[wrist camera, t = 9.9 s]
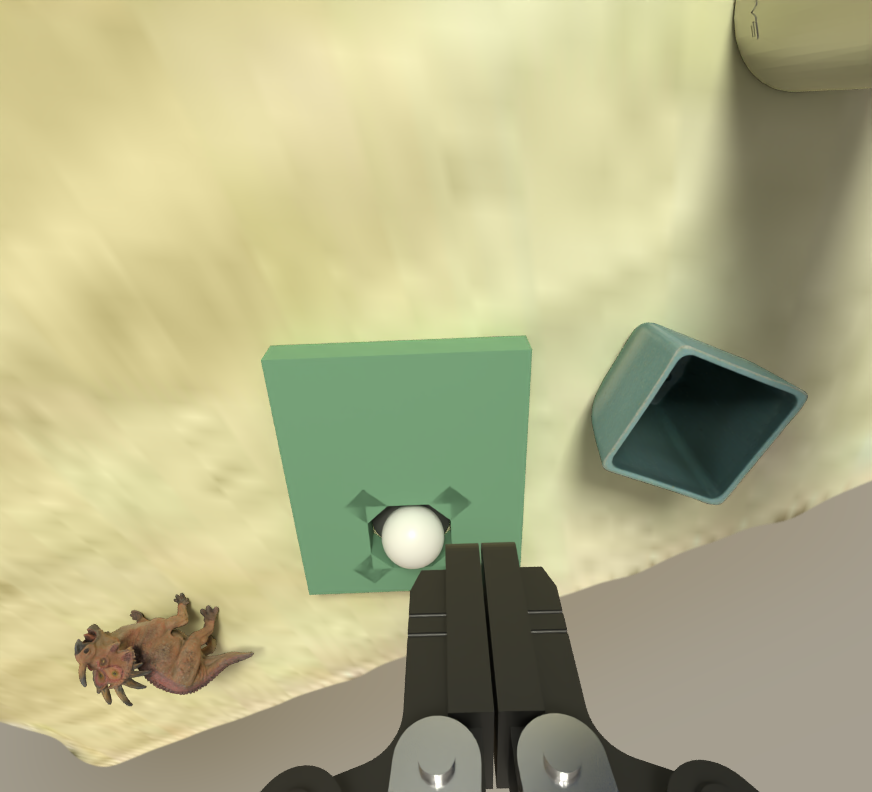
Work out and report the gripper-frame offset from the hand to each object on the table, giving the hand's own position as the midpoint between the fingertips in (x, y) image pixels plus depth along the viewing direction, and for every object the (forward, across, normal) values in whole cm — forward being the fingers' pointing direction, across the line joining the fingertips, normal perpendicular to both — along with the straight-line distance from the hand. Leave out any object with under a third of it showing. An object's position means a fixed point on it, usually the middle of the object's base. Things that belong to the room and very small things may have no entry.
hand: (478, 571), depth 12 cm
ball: (+23, +4, +21) cm, 32 cm away
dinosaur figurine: (+26, +26, +32) cm, 49 cm away
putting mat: (+26, +4, +17) cm, 31 cm away
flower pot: (+27, -14, +9) cm, 32 cm away
